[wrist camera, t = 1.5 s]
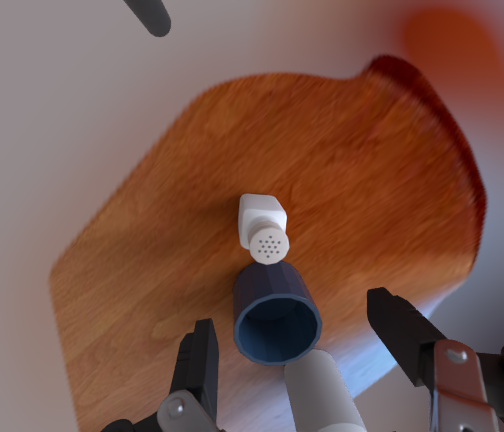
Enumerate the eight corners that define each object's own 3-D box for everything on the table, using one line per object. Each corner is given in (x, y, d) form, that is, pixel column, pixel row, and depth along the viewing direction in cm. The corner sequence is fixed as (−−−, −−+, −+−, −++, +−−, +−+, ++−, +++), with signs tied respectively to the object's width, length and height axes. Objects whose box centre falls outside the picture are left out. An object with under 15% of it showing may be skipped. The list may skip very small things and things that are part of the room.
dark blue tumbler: (221, 307, 33) (219, 352, 26) (251, 248, 31) (257, 281, 24) (282, 328, 35) (295, 374, 28) (315, 273, 33) (337, 310, 26)
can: (329, 338, 36) (375, 433, 25) (336, 376, 39) (381, 478, 27) (277, 352, 36) (300, 453, 25) (287, 389, 39) (312, 497, 27)
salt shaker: (240, 191, 28) (246, 221, 19) (276, 194, 29) (297, 224, 20) (237, 226, 30) (241, 268, 21) (271, 228, 30) (290, 270, 21)
